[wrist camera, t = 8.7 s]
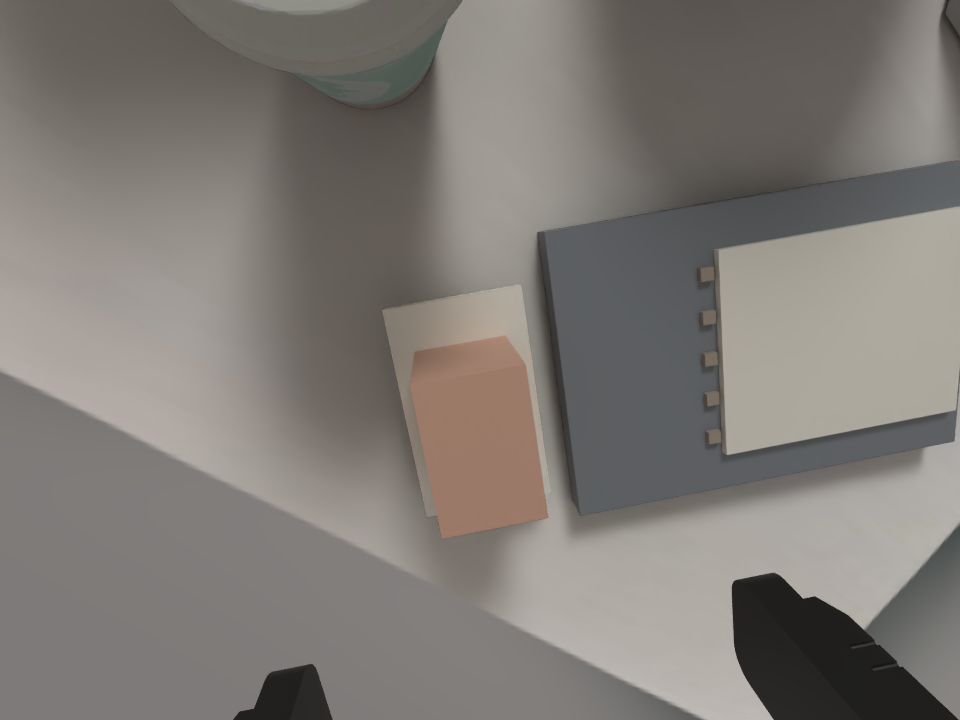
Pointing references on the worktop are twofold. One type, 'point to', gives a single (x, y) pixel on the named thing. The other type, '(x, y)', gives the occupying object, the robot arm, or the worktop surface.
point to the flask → (954, 14)
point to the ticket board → (756, 335)
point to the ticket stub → (471, 408)
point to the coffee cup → (332, 41)
